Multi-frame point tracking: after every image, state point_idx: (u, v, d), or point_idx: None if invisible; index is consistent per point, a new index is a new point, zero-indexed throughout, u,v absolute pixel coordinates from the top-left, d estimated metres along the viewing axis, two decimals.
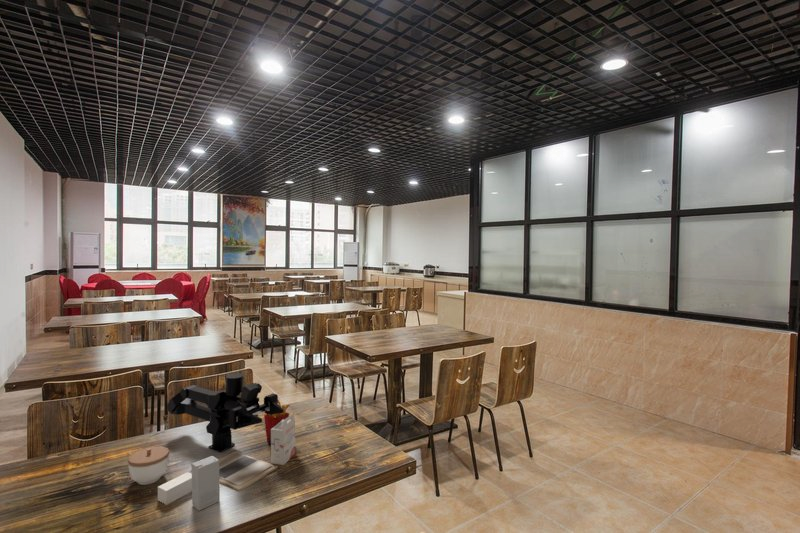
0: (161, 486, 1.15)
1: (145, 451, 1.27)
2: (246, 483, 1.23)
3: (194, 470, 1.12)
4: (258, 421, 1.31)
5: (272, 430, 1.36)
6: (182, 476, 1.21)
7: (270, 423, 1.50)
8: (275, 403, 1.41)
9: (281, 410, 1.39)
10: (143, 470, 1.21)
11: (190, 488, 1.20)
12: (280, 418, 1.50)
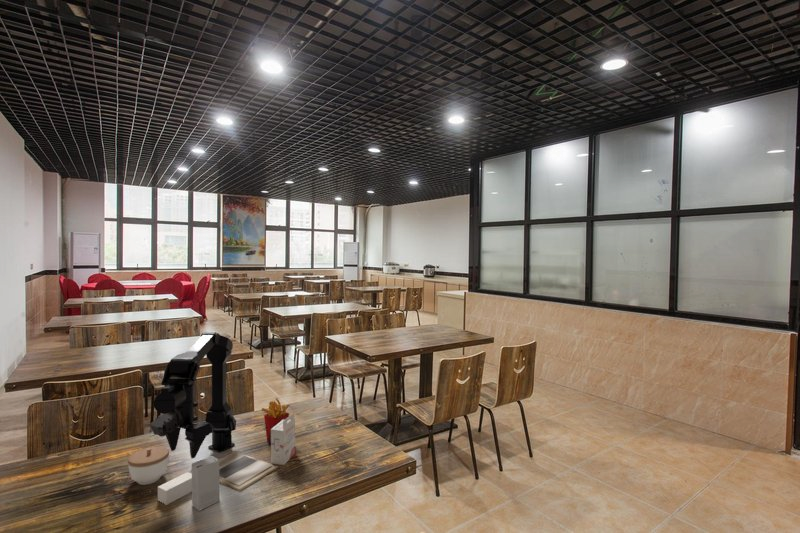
0: (161, 486, 1.15)
1: (145, 451, 1.27)
2: (246, 483, 1.23)
3: (194, 470, 1.12)
4: None
5: (272, 430, 1.36)
6: (182, 476, 1.21)
7: (270, 423, 1.50)
8: (190, 444, 1.15)
9: None
10: (143, 470, 1.21)
11: (190, 488, 1.20)
12: (280, 418, 1.50)
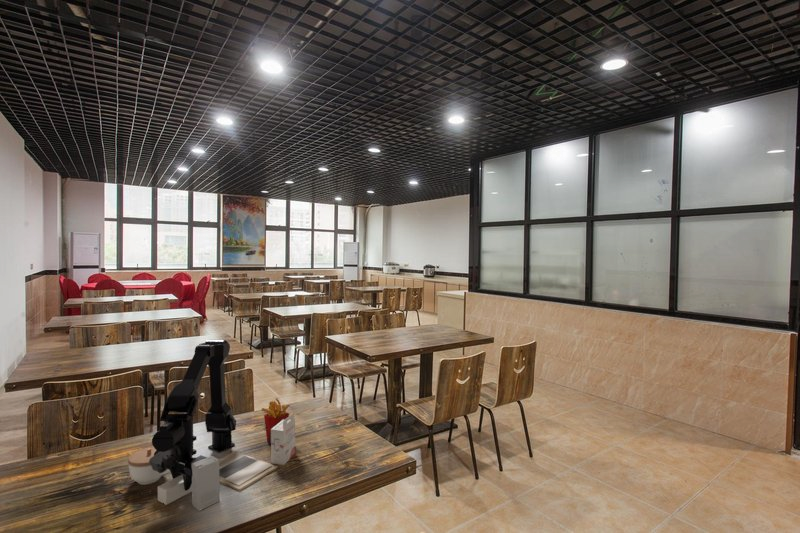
0: (161, 486, 1.15)
1: (145, 451, 1.27)
2: (246, 483, 1.23)
3: (194, 470, 1.12)
4: None
5: (272, 430, 1.36)
6: (182, 476, 1.21)
7: (270, 423, 1.50)
8: (184, 477, 1.17)
9: None
10: (143, 470, 1.21)
11: (190, 488, 1.20)
12: (280, 418, 1.50)
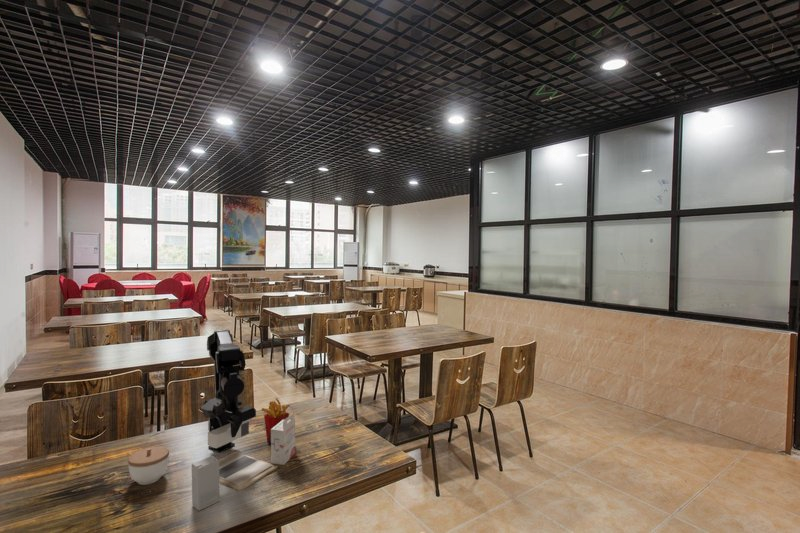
0: (211, 432, 1.26)
1: (145, 451, 1.27)
2: (246, 483, 1.23)
3: (194, 470, 1.12)
4: None
5: (272, 430, 1.36)
6: (228, 425, 1.31)
7: (270, 423, 1.50)
8: (231, 424, 1.27)
9: None
10: (143, 470, 1.21)
11: (236, 436, 1.30)
12: (280, 418, 1.50)
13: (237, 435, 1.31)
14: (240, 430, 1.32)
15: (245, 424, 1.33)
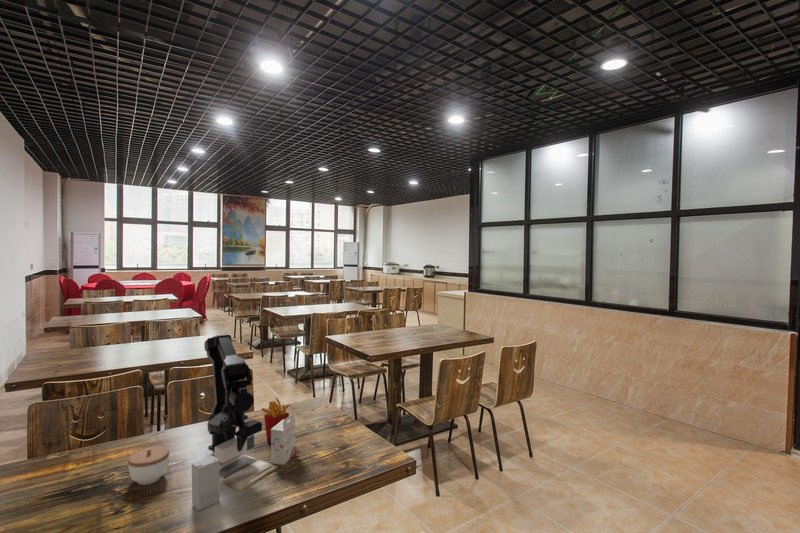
0: (217, 446, 1.28)
1: (145, 451, 1.27)
2: (246, 483, 1.23)
3: (194, 470, 1.12)
4: None
5: (272, 430, 1.36)
6: (234, 439, 1.33)
7: (270, 423, 1.50)
8: (238, 439, 1.29)
9: None
10: (143, 470, 1.21)
11: (242, 449, 1.32)
12: (280, 418, 1.50)
13: (243, 449, 1.33)
14: (246, 444, 1.33)
15: (251, 437, 1.35)
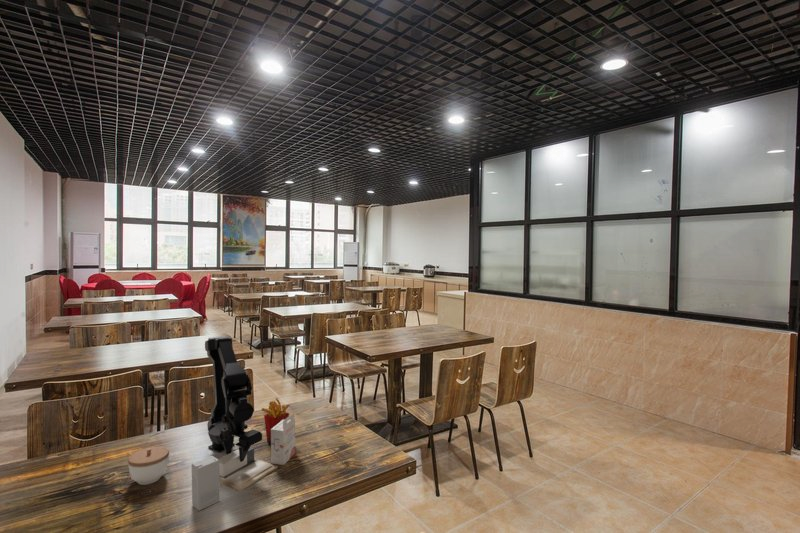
0: None
1: (145, 451, 1.27)
2: (246, 483, 1.23)
3: (194, 470, 1.12)
4: None
5: (272, 430, 1.36)
6: (234, 452, 1.33)
7: (270, 423, 1.50)
8: (240, 449, 1.29)
9: None
10: (143, 470, 1.21)
11: (242, 463, 1.32)
12: (280, 418, 1.50)
13: (243, 462, 1.33)
14: (246, 457, 1.34)
15: (251, 451, 1.35)
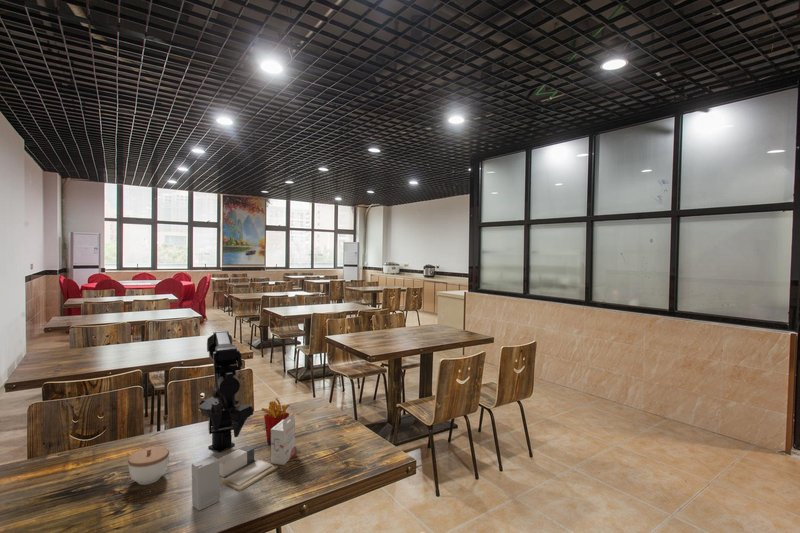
0: None
1: (145, 451, 1.27)
2: (246, 483, 1.23)
3: (194, 470, 1.12)
4: None
5: (272, 430, 1.36)
6: (234, 452, 1.33)
7: (270, 423, 1.50)
8: (234, 424, 1.29)
9: None
10: (143, 470, 1.21)
11: (242, 463, 1.32)
12: (280, 418, 1.50)
13: (243, 462, 1.33)
14: (246, 457, 1.34)
15: (251, 451, 1.35)
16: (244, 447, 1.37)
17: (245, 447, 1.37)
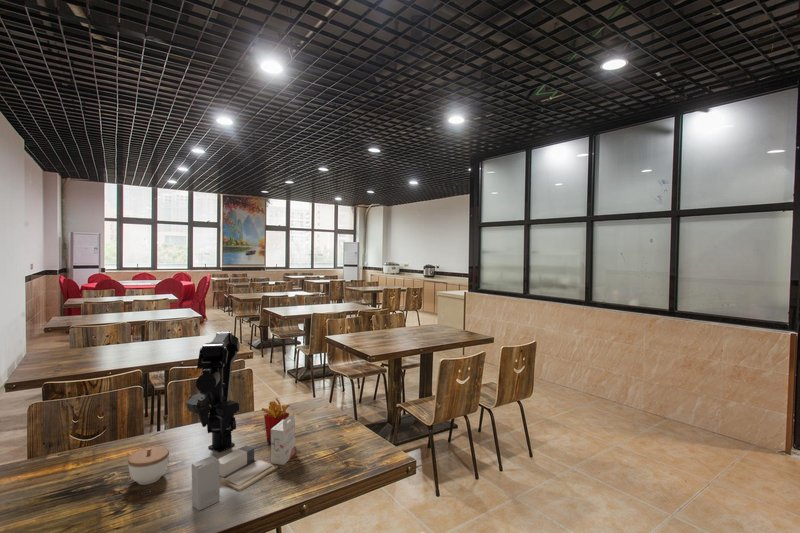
0: None
1: (145, 451, 1.27)
2: (246, 483, 1.23)
3: (194, 470, 1.12)
4: None
5: (272, 430, 1.36)
6: (234, 452, 1.33)
7: (270, 423, 1.50)
8: (220, 420, 1.30)
9: None
10: (143, 470, 1.21)
11: (242, 463, 1.32)
12: (280, 418, 1.50)
13: (243, 462, 1.33)
14: (246, 457, 1.34)
15: (251, 451, 1.35)
16: (244, 447, 1.37)
17: (245, 447, 1.37)
